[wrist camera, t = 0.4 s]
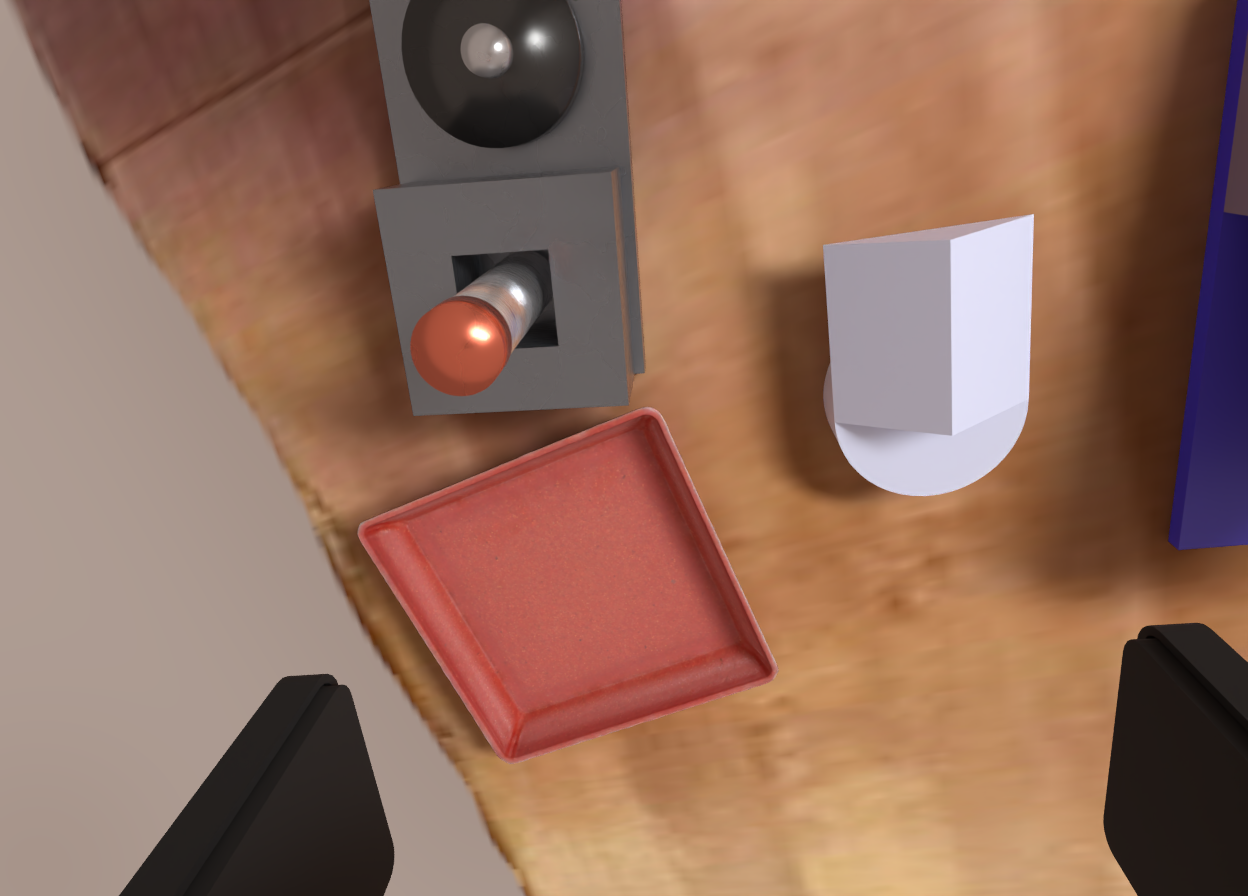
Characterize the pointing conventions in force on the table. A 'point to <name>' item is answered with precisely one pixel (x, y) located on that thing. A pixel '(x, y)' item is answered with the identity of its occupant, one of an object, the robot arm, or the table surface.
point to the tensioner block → (514, 186)
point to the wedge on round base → (929, 352)
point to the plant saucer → (573, 589)
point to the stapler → (1220, 343)
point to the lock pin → (481, 325)
